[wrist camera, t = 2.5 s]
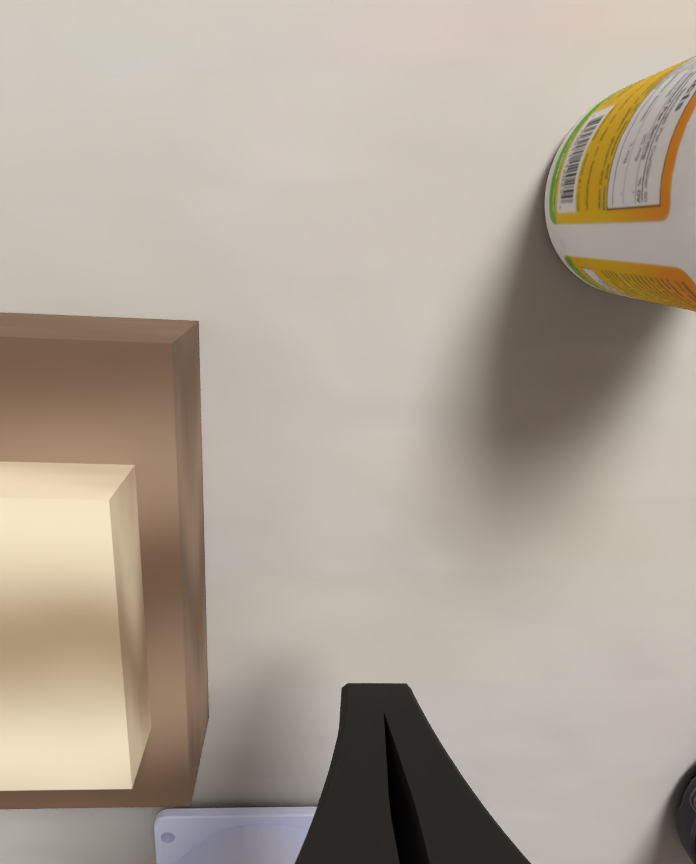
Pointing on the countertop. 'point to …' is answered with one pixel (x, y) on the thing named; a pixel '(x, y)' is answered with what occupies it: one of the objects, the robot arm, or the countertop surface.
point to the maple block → (71, 628)
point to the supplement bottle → (631, 191)
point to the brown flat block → (156, 500)
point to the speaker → (688, 820)
